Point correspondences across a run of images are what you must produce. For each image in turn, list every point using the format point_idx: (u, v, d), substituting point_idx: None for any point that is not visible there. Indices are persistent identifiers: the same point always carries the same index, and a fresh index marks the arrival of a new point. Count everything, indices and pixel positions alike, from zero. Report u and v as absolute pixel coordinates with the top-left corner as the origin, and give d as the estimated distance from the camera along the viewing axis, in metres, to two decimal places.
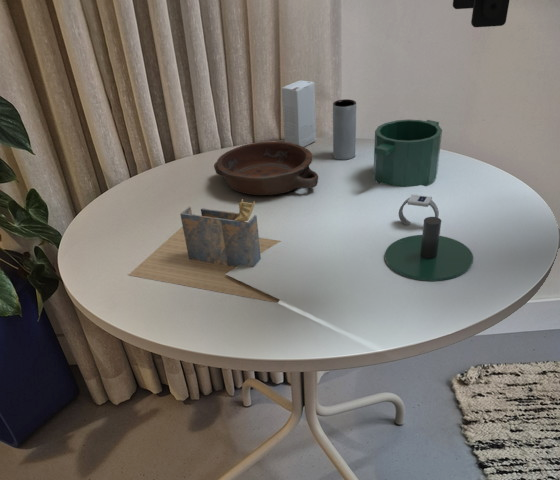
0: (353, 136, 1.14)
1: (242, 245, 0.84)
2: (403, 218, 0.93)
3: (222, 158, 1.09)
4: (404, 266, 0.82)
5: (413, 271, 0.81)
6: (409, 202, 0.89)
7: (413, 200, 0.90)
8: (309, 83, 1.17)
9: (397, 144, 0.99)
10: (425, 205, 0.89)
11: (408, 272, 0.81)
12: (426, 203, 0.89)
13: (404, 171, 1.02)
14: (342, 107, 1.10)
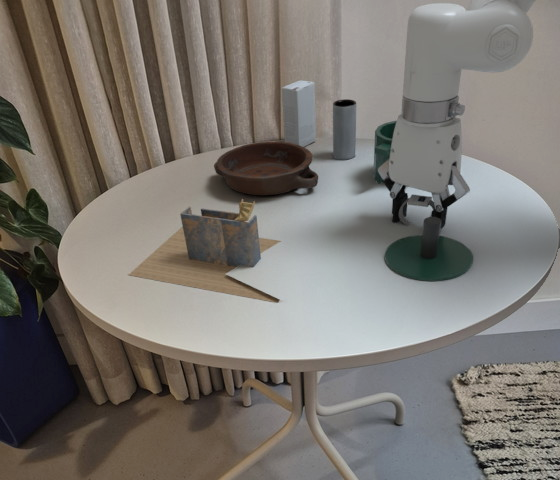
0: (353, 136, 1.14)
1: (242, 245, 0.84)
2: (403, 218, 0.93)
3: (222, 158, 1.09)
4: (404, 266, 0.82)
5: (413, 271, 0.81)
6: (409, 202, 0.89)
7: (413, 200, 0.90)
8: (309, 83, 1.17)
9: None
10: (425, 205, 0.89)
11: (408, 272, 0.81)
12: (426, 203, 0.89)
13: None
14: (342, 107, 1.10)
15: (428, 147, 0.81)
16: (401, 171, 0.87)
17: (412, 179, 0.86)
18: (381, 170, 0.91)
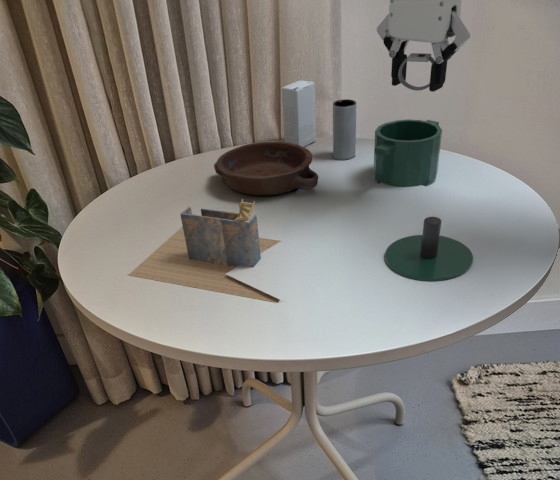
0: (353, 136, 1.14)
1: (242, 245, 0.84)
2: (403, 80, 0.93)
3: (222, 158, 1.09)
4: (404, 266, 0.82)
5: (413, 271, 0.81)
6: (409, 58, 0.89)
7: (413, 56, 0.89)
8: (309, 83, 1.17)
9: (397, 144, 0.99)
10: (425, 60, 0.88)
11: (408, 272, 0.81)
12: (426, 58, 0.88)
13: (404, 171, 1.02)
14: (342, 107, 1.10)
15: None
16: (401, 23, 0.86)
17: (412, 30, 0.86)
18: (380, 29, 0.91)
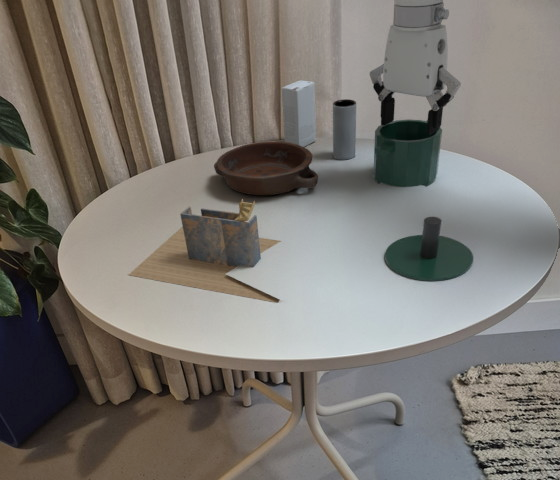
0: (353, 136, 1.14)
1: (242, 245, 0.84)
2: None
3: (222, 158, 1.09)
4: (404, 266, 0.82)
5: (413, 271, 0.81)
6: None
7: None
8: (309, 83, 1.17)
9: (397, 144, 0.99)
10: None
11: (408, 272, 0.81)
12: None
13: (404, 171, 1.02)
14: (342, 107, 1.10)
15: (417, 51, 0.92)
16: (394, 78, 0.97)
17: (404, 85, 0.97)
18: (372, 74, 1.01)
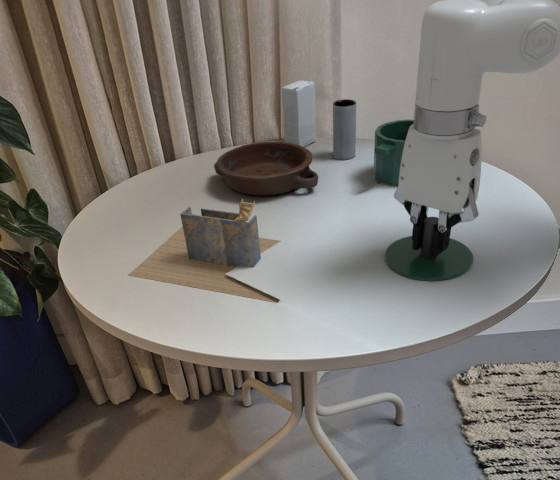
0: (353, 136, 1.14)
1: (242, 245, 0.84)
2: None
3: (222, 158, 1.09)
4: (404, 266, 0.82)
5: (413, 271, 0.81)
6: None
7: None
8: (309, 83, 1.17)
9: (397, 144, 0.99)
10: None
11: (408, 272, 0.81)
12: None
13: None
14: (342, 107, 1.10)
15: (444, 162, 0.72)
16: (412, 188, 0.78)
17: (425, 197, 0.77)
18: (397, 195, 0.82)
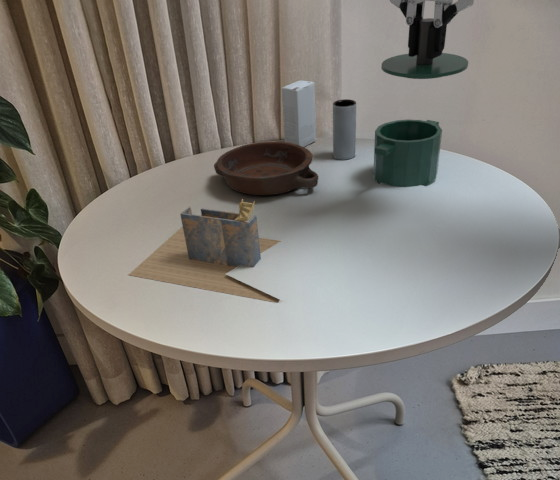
0: (353, 136, 1.14)
1: (242, 245, 0.84)
2: None
3: (222, 158, 1.09)
4: (400, 69, 0.83)
5: (409, 71, 0.82)
6: None
7: None
8: (309, 83, 1.17)
9: (397, 144, 0.99)
10: None
11: (405, 72, 0.82)
12: None
13: (404, 171, 1.02)
14: (342, 107, 1.10)
15: None
16: None
17: None
18: None
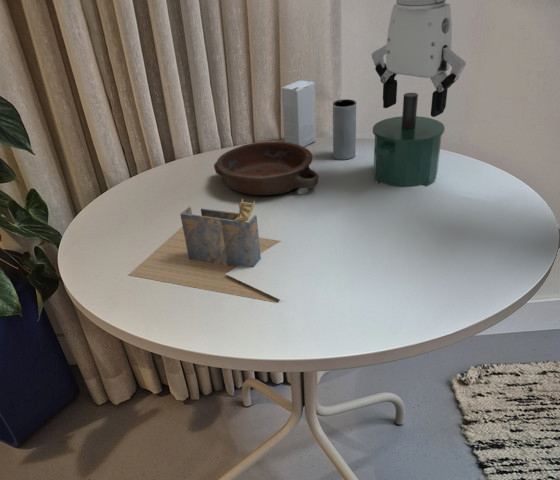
0: (353, 136, 1.14)
1: (242, 245, 0.84)
2: None
3: (222, 158, 1.09)
4: (388, 134, 1.01)
5: (395, 137, 0.99)
6: None
7: None
8: (309, 83, 1.17)
9: (397, 144, 0.99)
10: None
11: (391, 137, 0.99)
12: None
13: (404, 171, 1.02)
14: (342, 107, 1.10)
15: (421, 30, 0.90)
16: (397, 59, 0.95)
17: (407, 66, 0.95)
18: (375, 56, 0.99)
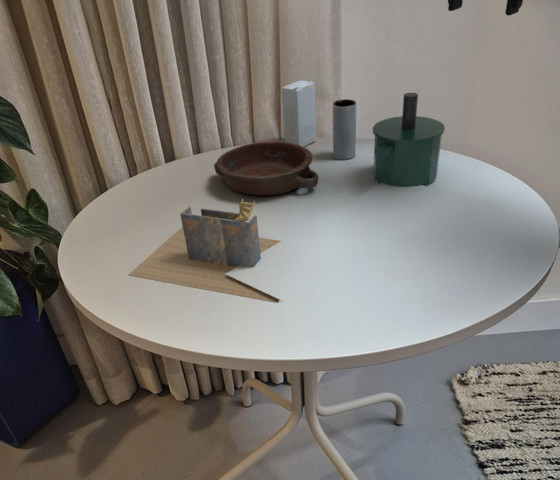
0: (353, 136, 1.14)
1: (242, 245, 0.84)
2: None
3: (222, 158, 1.09)
4: (388, 134, 1.01)
5: (395, 137, 0.99)
6: None
7: None
8: (309, 83, 1.17)
9: (397, 144, 0.99)
10: None
11: (391, 137, 0.99)
12: None
13: (404, 171, 1.02)
14: (342, 107, 1.10)
15: None
16: None
17: None
18: None
